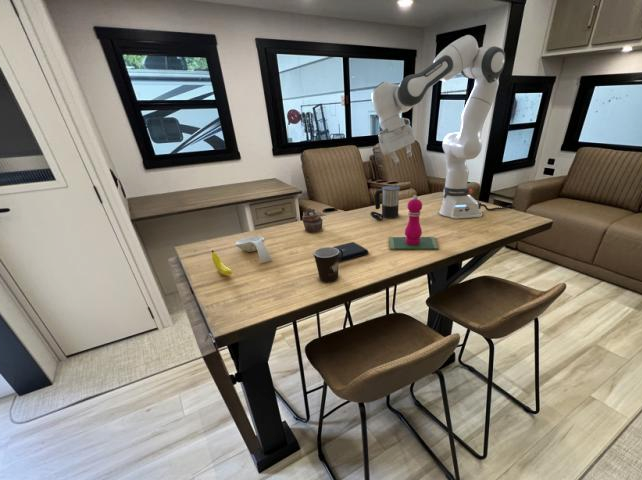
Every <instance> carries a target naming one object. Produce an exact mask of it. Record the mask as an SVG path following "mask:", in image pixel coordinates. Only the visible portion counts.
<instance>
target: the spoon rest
mask: <svg viewBox="0 0 642 480" xmlns="http://www.w3.org/2000/svg"><path fill="white" fill-rule="evenodd" d="M264 242H265V237H263V236H248V237H245V238H241V239H238V240H237V241H235V246H236V247H237V248H239V249H241V250H242V251H244V252H247V253H252V252H253V253H254V252H256V251H257V254H258V261H259V263H260V264H264V263H269V262H271V261H272V257H271V255H270V253H269V251H268V249H267V247H266V245H265V244H264Z"/></svg>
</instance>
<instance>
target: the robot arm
mask: <svg viewBox="0 0 642 480" xmlns="http://www.w3.org/2000/svg"><path fill="white" fill-rule="evenodd" d="M505 64H506V53H505V50H504V49H503V48H502V47H499V46H495V45H494V46H480V47H479V44H478V41H477V39H476V38H475V37H474V36H473V35H471V34H466V35H464V36H461V37H459V38H457V39H456V40H454V41H452V42H451V43H449V44H448V45H447V46H446V47H444V48H443V49H442V50H441V51H440V52H439V53H438V54H437V55H436V57H435V58H434V60H433V63H431V64H430V65H429V66H428V67H426V68H425V69H423V70H421V72H418V73H413V74H409V75H406V76H405V77H404V78H403V79H402V80H401V81H400V83H399V84H394V83H389V82H388V81H386V80H385V81H382V82H380V83H379V84H378V85H376V86H375V88H373V90H372V92H371V95H370V96H371V101H372V104H373V108H374V111H375V114H376V116H377V117H378V119H379V124H380V128H381V130H380V131H379V132H378V136H377V137H378V142H379V146H380V150H381V154H383V156H388V155H389V156H390V158H391V159H392V160H393V162H394V164H398V163H399V162H401V160H400V158H399V156H397V155H396V151H399V150H401V149H403V148H405V149H406V157H407V158H410V157H412V156H413V154H412V144H414V143H415V142H416V138H415V133H414V130H413V128H412V126H411V121H410V119H409V118H406V117H401V115H400V114H402V113H406V112H408V111H409V110H411V109H412V108H413V107H414V106H416V105H417V104H419V103H420V102H421V101H422V100H423V98H424V97H425V95H426V93H427V91H428V90H429V89H430V88H431V87H433V86H434V85H435V84H437V83H438V82H439V81H442V82H448V81H449V80H452V79H454V78H455V77H457V76H458V75H461V76H462V77H464V78H466V79H474V85H473V88H472V90H471V93H470V95H469V97H468V99H467V101H466V104H465V105H464V109H463V111H462V113H461V128H460V132H459V131H456V132H451V133H448V134H447V135H446V136H444V138H443V140H442V145H441V147H442V150H443V152H444V157H445V158H444V159H445V169H446V172H445V173H446V174H445V184H444V186H443V193H442V198H443V199H442V203H441V206H440V209H439V212H438V213H439V215H441V216H443V217H448V218H450V219H454V220H455V219H456V220H458V219H470V218H471V219H472V218H481V217H482V216H483V212H482V210H481V207H483V208H484V209H485V210H486V211H496V210H504V209H505V210H506V209H509V208H512V209H516V207H515V206H514V205H513V204H511V205H510V204H509V205H507V206H499V207H500V208H499V207H492V208H489V207H488V206H487V205H485V204H483V203H482V202H480V201H478V200H476V199H475V198H474V197H473V196H472V195H471V194H472V193H473V191H474V190H473V189H472V188H470V187H468V182H469V181H468V180H469V173H470V171H469V167H468V165H467V161H468V160H469V161H470V160H474V159H476V158H477V157H478V156H479V155H480V153H481V151H482V148H483V143H482V139H481V138H482V133H483V132H482V131H483V128H484V124H485V122H486V119H487V117H488V114H489V113H490V111H491V108H492V106H493V103H494V101H495V99H496V98H495V97H496V95H497V92H498V89H499V85H500V82H499V77H501V74H502V72H503V70H504V67H505ZM501 207H502V208H501Z"/></svg>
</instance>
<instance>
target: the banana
mask: <svg viewBox="0 0 642 480" xmlns="http://www.w3.org/2000/svg"><path fill="white" fill-rule="evenodd" d="M211 258H212V262H213V264H214V266H215V268H216V269H217V270H218V272H219V273H220V274H221V275H222V276H227V277H228V276H231V275H232V274H233V271H232V269H231V268H229V267H228V266H226V265H225V264H224V262H223V261H222V259H221V257H220V256H219V255H218V254H217V253H216V252H215V251H214V250H211Z"/></svg>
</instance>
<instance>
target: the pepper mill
mask: <svg viewBox="0 0 642 480" xmlns="http://www.w3.org/2000/svg"><path fill="white" fill-rule="evenodd" d="M406 207H407V210H408V222H407V225H406V227H405V229H404V237H406V244H409V245H417V244H419V243H420V238H419V237H422V235H423V231H422V227H421V223H420V216H421V210H423V209H422V208H423V202H422V201H421V200H420V199H418V195H413V196H412V199H410V200H409V201H408V202H407V206H406Z"/></svg>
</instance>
